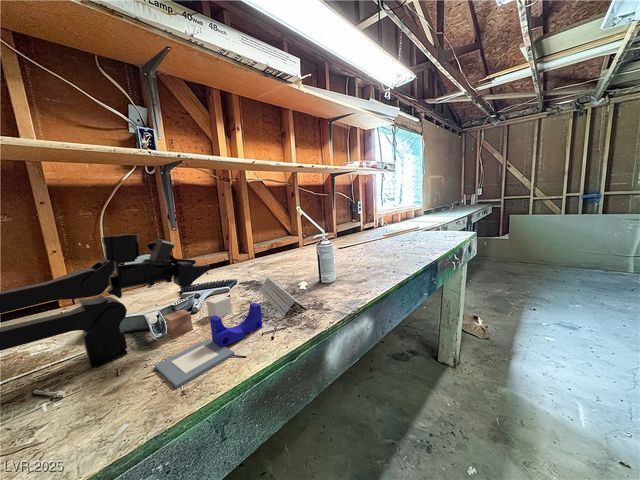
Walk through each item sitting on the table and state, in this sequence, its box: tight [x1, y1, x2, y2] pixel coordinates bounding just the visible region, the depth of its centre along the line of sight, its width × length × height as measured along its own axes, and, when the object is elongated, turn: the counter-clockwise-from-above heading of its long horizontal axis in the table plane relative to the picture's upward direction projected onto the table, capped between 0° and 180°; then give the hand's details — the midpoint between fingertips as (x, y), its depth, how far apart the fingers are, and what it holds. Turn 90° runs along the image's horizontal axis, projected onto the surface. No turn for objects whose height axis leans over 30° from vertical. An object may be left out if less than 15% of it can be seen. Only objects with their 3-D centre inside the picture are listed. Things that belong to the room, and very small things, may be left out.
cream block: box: [205, 294, 233, 319], centre depth 77 cm, size 5×5×5 cm
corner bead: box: [258, 276, 309, 318], centre depth 86 cm, size 29×9×5 cm, turn 27°
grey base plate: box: [154, 338, 235, 389], centre depth 54 cm, size 12×11×1 cm
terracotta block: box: [162, 309, 194, 339], centre depth 68 cm, size 5×5×5 cm
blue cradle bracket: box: [209, 302, 263, 348], centre depth 63 cm, size 12×4×6 cm, turn 135°
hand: (202, 264), depth 76 cm, fingers open, 9 cm apart
